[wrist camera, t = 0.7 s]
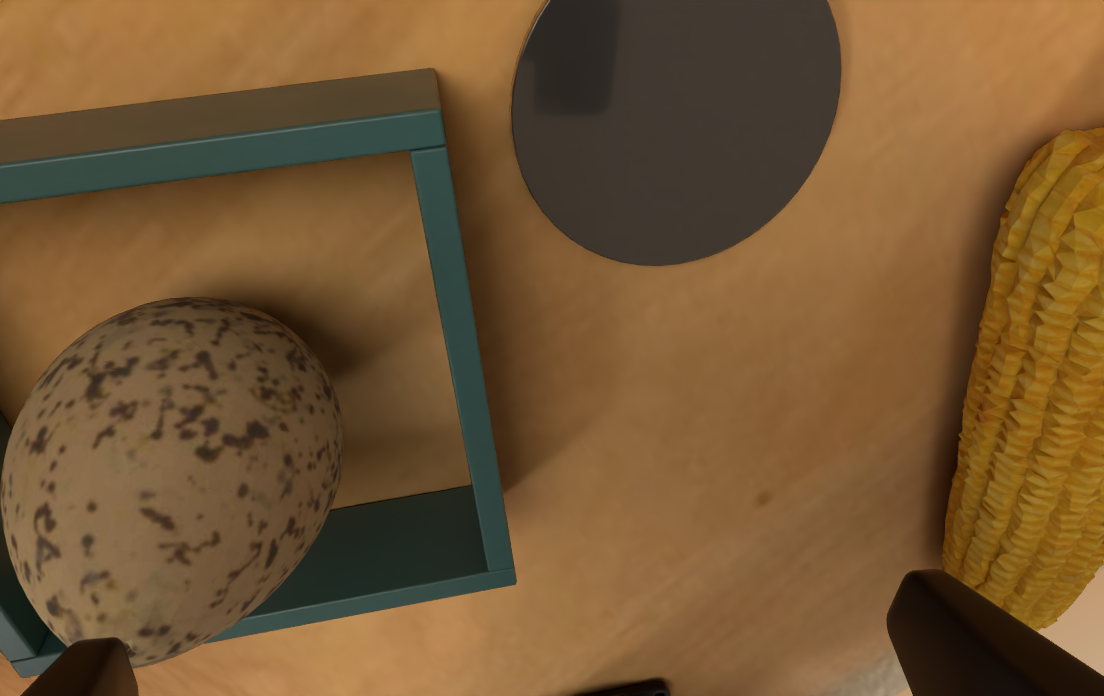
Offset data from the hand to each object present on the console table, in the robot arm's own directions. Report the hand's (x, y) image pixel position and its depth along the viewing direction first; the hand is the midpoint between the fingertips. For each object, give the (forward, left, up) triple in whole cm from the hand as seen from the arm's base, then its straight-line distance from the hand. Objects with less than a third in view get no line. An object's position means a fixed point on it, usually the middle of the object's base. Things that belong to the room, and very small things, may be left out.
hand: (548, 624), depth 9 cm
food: (-10, -18, -14) cm, 25 cm away
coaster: (+2, -6, -14) cm, 15 cm away
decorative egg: (-4, +8, -14) cm, 17 cm away
